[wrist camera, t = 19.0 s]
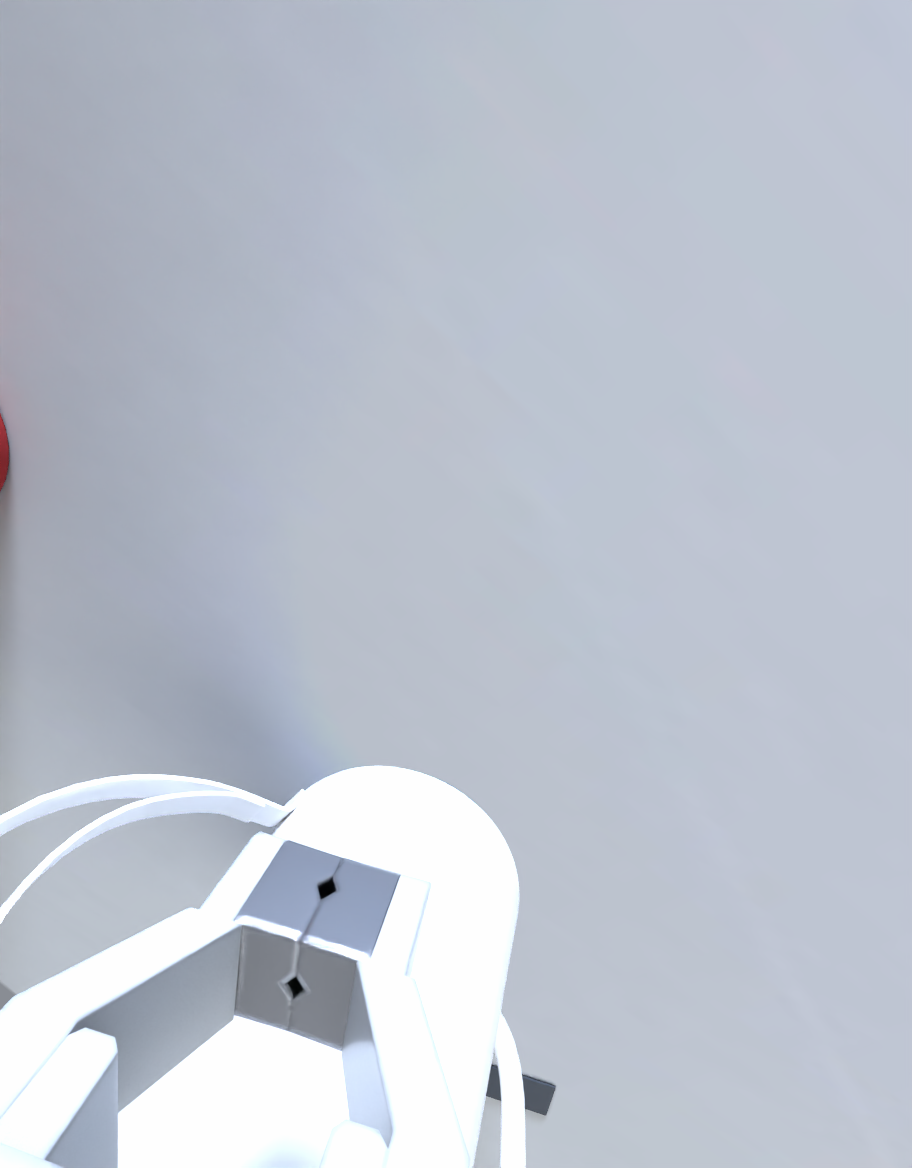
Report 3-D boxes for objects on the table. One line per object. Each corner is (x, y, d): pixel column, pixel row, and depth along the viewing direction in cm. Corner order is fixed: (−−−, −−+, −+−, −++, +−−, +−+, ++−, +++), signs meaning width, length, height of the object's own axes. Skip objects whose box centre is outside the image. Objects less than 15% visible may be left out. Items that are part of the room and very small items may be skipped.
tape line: (555, 1086, 28) (555, 1088, 28) (545, 1113, 28) (545, 1115, 28) (211, 975, 30) (210, 976, 30) (209, 1002, 30) (208, 1004, 30)
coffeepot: (518, 1094, 28) (448, 2238, 10) (134, 751, 27) (-733, 1427, 9) (696, 995, 25) (1042, 2439, 7) (270, 595, 23) (-690, 1181, 5)
